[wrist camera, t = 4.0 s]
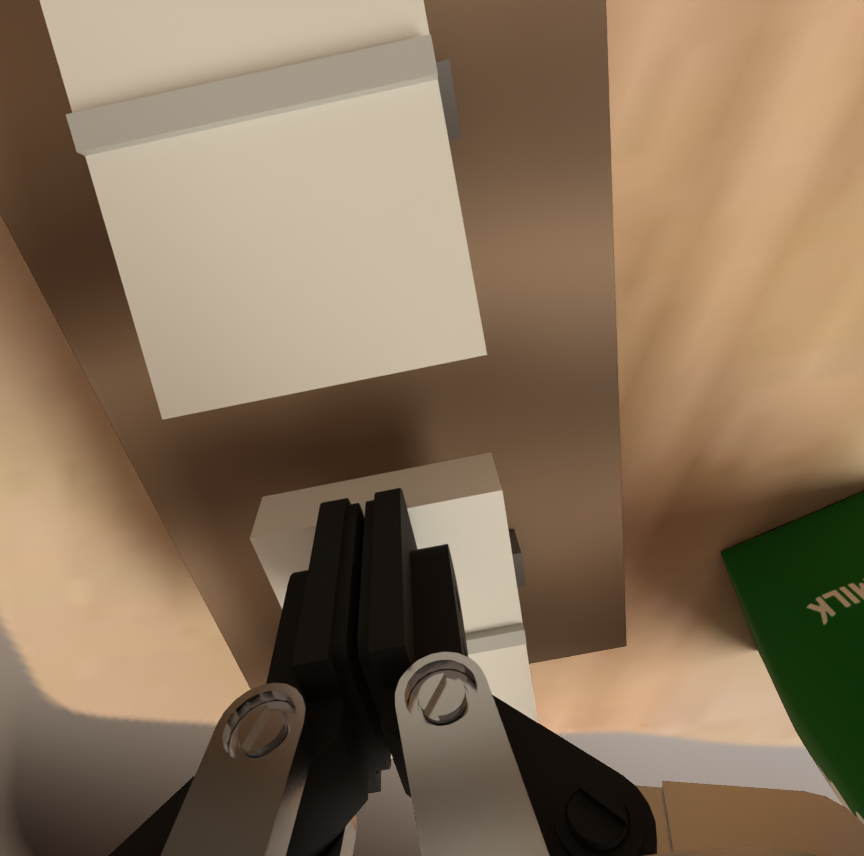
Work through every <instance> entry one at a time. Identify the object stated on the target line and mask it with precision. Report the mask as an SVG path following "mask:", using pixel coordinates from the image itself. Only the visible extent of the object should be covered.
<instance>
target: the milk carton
mask: <svg viewBox="0 0 864 856" xmlns="http://www.w3.org/2000/svg"><path fill="white" fill-rule="evenodd" d="M721 555H722V558H723V560H724V563H725V566H726V568H727V571H728V573H729V576H730V579H731V581H732V584H733V586H734V589H735V592H736V594H737V597H738V599H739V602H740V605H741V607H742V610H743V612H744V615H745V618H746V620H747V623H748V625H749V628H750V631H751V633H752V636H753V639H754V641H755V644H756V646H757V649H758V652H759V654H760V656H761V658H762V660H763V662H764V664H765V666H766V668H767V671H768V673H769V675H770V677H771V679H772V681H773V684H774V686H775V688H776V690H777V692H778V694H779V697H780V699H781V701H782V703H783V705H784V708H785V710H786V712H787V714H788V716H789V718H790V720H791V722H792V724H793V726H794V728H795V730H796V732H797V734H798V736H799V737H800V739H801V741H802V742H803V744H804V746H805V747H806V749H807V750H808V752H809V754H810V755H811V757H812V758H813V760H814V761H815V763H816V765H817V766H818V768H819V769H820V771H821V772H822V774H823V775H824V777H825V779H826V780H827V782H828V783H829V785H830V786H831V788H832V789H833V791H834V792H835V794H836V795H837V797H838V798H839V800H840V801H841V803H842V805H843V806H844V807H846V808H847V809H848V810H849V811H851V812H852V813H853V814H854V815H855V816H856V817H857V818H858V819H859V820H860V821H861V822H862V823H863V824H864V492H862V493H859V494H857V495H855V496H852V497H850V498H848V499H845V500H843V501H840V502H838V503H836V504H833V505H831V506H829V507H826V508H824V509H822V510H819V511H817V512H814V513H812V514H810V515H807V516H805V517H803V518H800V519H798V520H795V521H793V522H791V523H788V524H786V525H784V526H781V527H779V528H777V529H774V530H772V531H769V532H767V533H765V534H762V535H760V536H758V537H755V538H753V539H750V540H748V541H746V542H743V543H741V544H739V545H736V546H734V547H732V548H729V549H727V550H724V551H722V552H721Z"/></svg>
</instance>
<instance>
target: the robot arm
mask: <svg viewBox="0 0 864 856" xmlns="http://www.w3.org/2000/svg"><path fill="white" fill-rule="evenodd" d="M391 755H392V758H393V760H394V763H395V765H396V768H397V771H398V774H399V777H400V779H401V782H402V785H403V787H404V790H405V793H406V794H407V795H409V796H410V797H411V798H412V804H413V809H414V815H415V821H416V826H417V832H418V837H419V843H420V849H421V854H422V856H864V824H863V823H862V822H861V821H860V820H859V819H858V818H857V817H856V816H855V815H854V814H853V813H852V812H851V811H849V810H848V809H847V808H846V807H844V806H842V805H840V804H838V803H837V802H835V801H833V800H831V799H829V798H828V797H826V796H822V795H817V794H813V793H809V792H805V791H794V790H780V789H767V788H753V787H739V786H725V785H711V784H698V783H684V782H670V781H662V788H659V787H647V786H635V785H634V784H632V783H631V782H630V781H629V780H627V779H626V778H625V777H624V776H623V775H621V774H620V773H618V772H616V771H615V770H613V769H612V768H610V767H608V766H607V765H605V764H603V763H602V762H600V761H599V760H597V759H595V758H594V757H592V756H591V755H589V754H587V753H586V752H584V751H582V750H581V749H579V748H578V747H576V746H574V745H573V744H571V743H569V742H568V741H566V740H565V739H563V738H562V737H560V736H558V735H557V734H555V733H553V732H552V731H550V730H549V729H547V728H545V727H544V726H542V725H541V724H539V723H537V722H536V721H534V720H532V719H531V718H529V717H528V716H526V715H524V714H523V713H521V712H520V711H518V710H516V709H515V708H513V707H511V706H510V705H508V704H507V703H505V702H503V701H502V700H500V699H499V698H497V697H495V696H494V695H492V693H491V690H490V687H489V684H488V682H487V679H486V676H485V675H484V673H483V671H482V669H481V668H480V666H479V665H478V664H477V663H476V662H474V661H473V660H472V659H471V658H469V657H468V650H467V643H466V636H465V629H464V623H463V616H462V609H461V603H460V597H459V592H458V586H457V581H456V576H455V572H454V567H453V562H452V558H451V553H450V549H449V545H448V544H444V545H439V546H433V547H428V548H423V549H417V545H416V541H415V537H414V533H413V529H412V526H411V522H410V518H409V514H408V510H407V506H406V502H405V498H404V494H403V491H402V489H401V488H396V489H391V490H386V491H381V492H375V495H374V500H371V501H366V504H365V518H364V515H363V512H362V509H361V506H360V504H359V503H355V504H351V503H350V501H349V499H348V498H344V499H339V500H334V501H328V502H323V503H321V504H320V507H319V513H318V518H317V524H316V530H315V535H314V541H313V546H312V552H311V558H310V563H309V569H308V570H305V571H300V572H295V573H292V574H291V576H290V578H289V581H288V585H287V590H286V595H285V599H284V604H283V608H282V613H281V618H280V622H279V627H278V631H277V636H276V641H275V645H274V650H273V654H272V659H271V664H270V668H269V673H268V677H267V682H266V684H264V685H260V686H258V687H256V688H253V689H251V690H249V691H247V692H246V693H244V694H243V695H242V696H240V697H239V698H237V699H236V700H235V701H234V702H233V703H232V704H231V705H230V706H229V707H228V708H227V710H226V711H225V712H224V713H223V715H222V717H221V718H220V720H219V722H218V724H217V725H216V728H215V730H214V732H213V735H212V737H211V739H210V742H209V744H208V746H207V749H206V751H205V754H204V756H203V758H202V761H201V763H200V765H199V767H198V770H197V772H196V774H195V776H194V777H192V778H191V779H190V780H189V781H188V782H187V783H186V784H185V785H184V786H183V787H182V788H181V789H180V790H179V791H177V792H176V793H175V794H174V795H173V796H172V797H171V798H170V799H169V800H168V801H167V802H166V803H165V804H164V805H162V806H161V807H160V808H159V809H158V810H157V811H156V812H155V813H154V814H153V815H152V816H151V817H150V818H149V819H147V820H146V821H145V822H144V823H143V824H142V825H141V826H140V827H139V828H138V829H137V830H136V831H135V832H134V833H133V834H131V835H130V836H129V837H128V838H127V839H126V840H125V841H124V842H123V843H122V844H121V845H120V846H119V847H117V848H116V849H115V850H114V851H113V852H112V853H111V854H110V855H109V856H352V854H353V848H354V842H355V837H356V823H357V819H356V813H357V812H358V811H359V810H360V809H361V807H362V806H363V805H364V804H365V803H366V801H367V800H368V793H374V792H379V791H381V770H387V769H390V766H391Z"/></svg>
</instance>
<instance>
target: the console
mask: <svg viewBox="0 0 864 856" xmlns="http://www.w3.org/2000/svg"><path fill="white" fill-rule="evenodd" d="M424 6H425V12H426V17H427V23H428V28H429V34H431V38H432V43H433V49H434V55H435V60H436V66H437V71H438V84H439V89H440V95H441V101H442V106H443V112H444V117H445V123H446V128H447V134H448V140H449V145H450V151H451V156H452V162H453V167H454V173H455V178H456V184H457V190H458V195H459V201H460V206H461V212H462V217H463V223H464V229H465V234H466V240H467V245H468V251H469V256H470V262H471V268H472V273H473V279H474V284H475V290H476V295H477V301H478V306H479V312H480V318H481V323H482V329H483V334H484V340H485V345H486V351H487V355H484V356H479V357H474V358H469V359H464V360H459V361H454V362H449V363H444V364H439V365H434V366H429V367H424V368H419V369H414V370H409V371H404V372H399V373H394V374H389V375H384V376H379V377H373V378H368V379H363V380H358V381H353V382H348V383H343V384H338V385H333V386H328V387H323V388H318V389H313V390H308V391H303V392H298V393H293V394H288V395H283V396H278V397H273V398H268V399H263V400H258V401H253V402H248V403H243V404H238V405H233V406H228V407H223V408H218V409H213V410H208V411H203V412H198V413H193V414H188V415H183V416H178V417H173V418H168V419H163V420H162V417H161V413H160V410H159V407H158V403H157V400H156V396H155V393H154V389H153V386H152V383H151V379H150V376H149V372H148V369H147V366H146V362H145V359H144V355H143V352H142V349H141V345H140V342H139V338H138V335H137V331H136V328H135V325H134V321H133V318H132V314H131V311H130V308H129V304H128V301H127V297H126V294H125V291H124V287H123V284H122V280H121V277H120V273H119V270H118V267H117V263H116V260H115V256H114V253H113V250H112V246H111V243H110V239H109V236H108V233H107V229H106V226H105V222H104V219H103V215H102V212H101V209H100V205H99V202H98V198H97V195H96V192H95V188H94V185H93V181H92V178H91V175H90V171H89V168H88V164H87V161H86V157H85V156H84V155H82V154H80V153H77V151H76V148H75V145H74V141H73V138H72V134H71V131H70V128H69V124H68V121H67V117H66V114H70V113H72V110H71V106H70V103H69V99H68V96H67V93H66V89H65V86H64V82H63V79H62V76H61V72H60V69H59V65H58V62H57V59H56V55H55V52H54V48H53V45H52V41H51V38H50V35H49V31H48V28H47V24H46V21H45V18H44V14H43V11H42V7H41V4H40V1H39V0H0V214H1V216H2V218H3V220H4V222H5V224H6V225H7V227H8V229H9V231H10V233H11V235H12V237H13V239H14V241H15V243H16V244H17V246H18V248H19V250H20V252H21V254H22V256H23V258H24V260H25V261H26V263H27V265H28V267H29V269H30V271H31V273H32V275H33V277H34V279H35V280H36V282H37V284H38V286H39V288H40V290H41V292H42V294H43V296H44V298H45V299H46V301H47V303H48V305H49V307H50V309H51V311H52V313H53V315H54V317H55V318H56V320H57V322H58V324H59V326H60V328H61V330H62V332H63V334H64V336H65V337H66V339H67V341H68V343H69V345H70V347H71V349H72V351H73V353H74V354H75V356H76V358H77V360H78V362H79V364H80V366H81V368H82V370H83V372H84V373H85V375H86V377H87V379H88V381H89V383H90V385H91V387H92V389H93V391H94V392H95V394H96V396H97V398H98V400H99V402H100V404H101V406H102V408H103V410H104V411H105V413H106V415H107V417H108V419H109V421H110V423H111V425H112V427H113V428H114V430H115V432H116V434H117V436H118V438H119V440H120V442H121V444H122V446H123V447H124V449H125V451H126V453H127V455H128V457H129V459H130V461H131V463H132V465H133V466H134V468H135V470H136V472H137V474H138V476H139V478H140V480H141V482H142V484H143V485H144V487H145V489H146V491H147V493H148V495H149V497H150V499H151V501H152V503H153V504H154V506H155V508H156V510H157V512H158V514H159V516H160V518H161V520H162V521H163V523H164V525H165V527H166V529H167V531H168V533H169V535H170V537H171V539H172V540H173V542H174V544H175V546H176V548H177V550H178V552H179V554H180V556H181V558H182V559H183V561H184V563H185V565H186V567H187V569H188V571H189V573H190V575H191V577H192V578H193V580H194V582H195V584H196V586H197V588H198V590H199V592H200V594H201V595H202V597H203V599H204V601H205V603H206V605H207V607H208V609H209V611H210V613H211V614H212V616H213V618H214V620H215V622H216V624H217V626H218V628H219V630H220V632H221V633H222V635H223V637H224V639H225V641H226V643H227V645H228V647H229V649H230V651H231V652H232V654H233V656H234V658H235V660H236V662H237V664H238V666H239V668H240V669H241V671H242V673H243V675H244V677H245V679H246V681H247V683H248V685H249V687H250V688H251V689H253V688H256V687H258V686H260V685H264V684H266V682H267V677H268V673H269V668H270V664H271V659H272V654H273V650H274V645H275V641H276V636H277V631H278V627H279V622H280V618H281V613H282V608H281V606H280V603H279V601H278V599H277V597H276V595H275V593H274V590H273V588H272V586H271V584H270V582H269V579H268V577H267V575H266V573H265V571H264V569H263V566H262V564H261V562H260V560H259V558H258V556H257V553H256V551H255V549H254V547H253V545H252V542H251V540H250V536H251V533H252V529H253V526H254V523H255V520H256V516H257V513H258V510H259V507H260V503H261V500H262V497H264V496H269V495H274V494H279V493H285V492H290V491H295V490H300V489H305V488H310V487H316V486H321V485H326V484H331V483H336V482H341V481H346V480H352V479H357V478H362V477H367V476H372V475H377V474H382V473H388V472H393V471H398V470H403V469H408V468H413V467H418V466H424V465H429V464H434V463H439V462H444V461H449V460H455V459H460V458H465V457H470V456H475V455H480V454H485V453H492V457H493V460H494V463H495V467H496V470H497V474H498V477H499V480H500V484H501V487H502V491H503V498H504V504H505V511H506V517H507V524H508V530H509V537H510V543H511V550H512V556H513V563H514V569H515V576H516V583H517V589H518V596H519V602H520V609H521V615H522V622H523V626H524V630H525V637H526V643H527V644H526V648H527V655H528V661H529V664H530V663H536V662H541V661H547V660H552V659H558V658H563V657H569V656H574V655H580V654H585V653H591V652H596V651H602V650H607V649H613V648H619V647H624V646H626V616H625V584H624V553H623V521H622V490H621V458H620V426H619V395H618V363H617V332H616V300H615V268H614V237H613V205H612V174H611V142H610V110H609V79H608V47H607V16H606V0H424Z"/></svg>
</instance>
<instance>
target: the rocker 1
mask: <svg viewBox="0 0 864 856" xmlns="http://www.w3.org/2000/svg"><path fill="white" fill-rule="evenodd" d="M39 1H40V4H41V7H42V11H43V14H44V18H45V21H46V24H47V28H48V31H49V35H50V38H51V41H52V45H53V48H54V52H55V55H56V59H57V62H58V65H59V69H60V72H61V76H62V79H63V82H64V86H65V89H66V93H67V96H68V99H69V103H70V106H71V110H72V113H70V114H66V117H67V121H68V124H69V128H70V131H71V134H72V138H73V141H74V145H75V148H76V151H77V153H80V154H82V155H84V156H85V157H86V161H87V164H88V168H89V171H90V175H91V178H92V181H93V185H94V188H95V192H96V195H97V198H98V202H99V205H100V209H101V212H102V215H103V219H104V222H105V226H106V229H107V233H108V236H109V239H110V243H111V246H112V250H113V253H114V256H115V260H116V263H117V267H118V270H119V273H120V277H121V280H122V284H123V287H124V291H125V294H126V297H127V301H128V304H129V308H130V311H131V314H132V318H133V321H134V325H135V328H136V331H137V335H138V338H139V342H140V345H141V349H142V352H143V355H144V359H145V362H146V366H147V369H148V372H149V376H150V379H151V383H152V386H153V389H154V393H155V396H156V400H157V403H158V407H159V410H160V413H161V417H162V420H163V419H168V418H173V417H178V416H183V415H188V414H193V413H198V412H203V411H208V410H213V409H218V408H223V407H228V406H233V405H238V404H243V403H248V402H253V401H258V400H263V399H268V398H273V397H278V396H283V395H288V394H293V393H298V392H303V391H308V390H313V389H318V388H323V387H328V386H333V385H338V384H343V383H348V382H353V381H358V380H363V379H368V378H373V377H379V376H384V375H389V374H394V373H399V372H404V371H409V370H414V369H419V368H424V367H429V366H434V365H439V364H444V363H449V362H454V361H459V360H464V359H469V358H474V357H479V356H484V355H487V351H486V345H485V340H484V334H483V329H482V323H481V318H480V312H479V306H478V301H477V295H476V290H475V284H474V279H473V273H472V268H471V262H470V256H469V251H468V245H467V240H466V234H465V229H464V223H463V217H462V212H461V206H460V201H459V195H458V190H457V184H456V178H455V173H454V167H453V162H452V156H451V151H450V145H449V140H448V134H447V128H446V123H445V117H444V112H443V106H442V101H441V95H440V89H439V84H438V71H437V66H436V60H435V55H434V49H433V43H432V38H431V34H429V28H428V23H427V17H426V12H425V6H424V0H39Z"/></svg>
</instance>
